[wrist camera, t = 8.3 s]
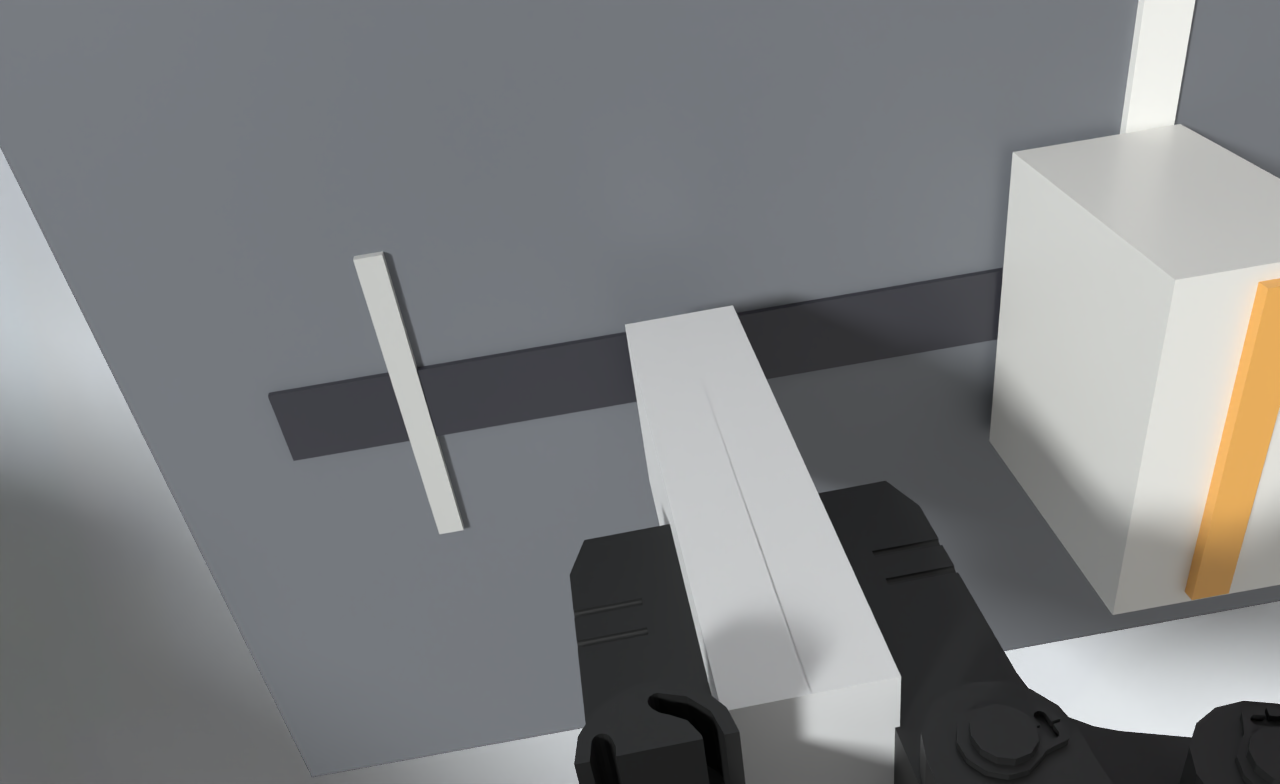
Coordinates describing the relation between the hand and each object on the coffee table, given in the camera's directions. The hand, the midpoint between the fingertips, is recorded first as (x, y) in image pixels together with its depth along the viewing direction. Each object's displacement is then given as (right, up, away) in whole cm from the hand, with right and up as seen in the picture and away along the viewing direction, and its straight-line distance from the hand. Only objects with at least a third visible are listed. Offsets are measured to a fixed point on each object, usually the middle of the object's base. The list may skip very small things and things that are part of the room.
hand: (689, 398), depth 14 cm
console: (+3, +2, +3) cm, 4 cm away
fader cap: (+6, +2, +1) cm, 6 cm away
